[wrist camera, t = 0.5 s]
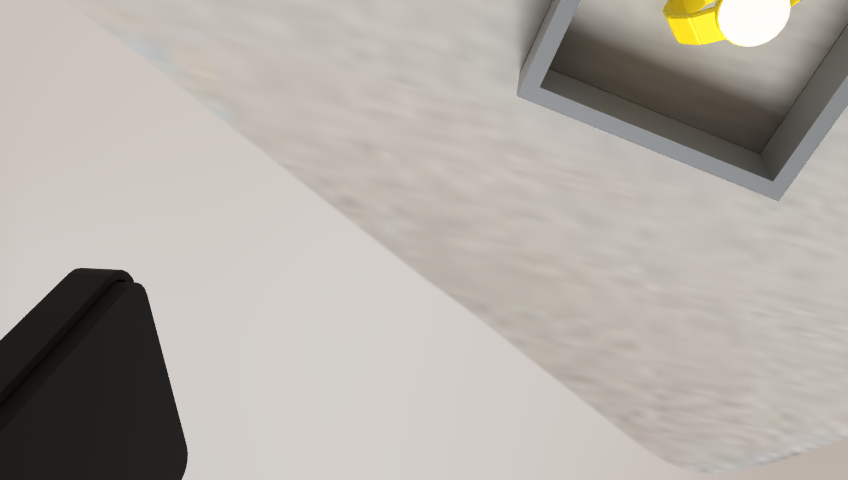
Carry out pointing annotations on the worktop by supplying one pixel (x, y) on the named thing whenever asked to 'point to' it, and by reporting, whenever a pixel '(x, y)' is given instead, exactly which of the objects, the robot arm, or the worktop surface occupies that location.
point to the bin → (763, 173)
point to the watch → (727, 20)
